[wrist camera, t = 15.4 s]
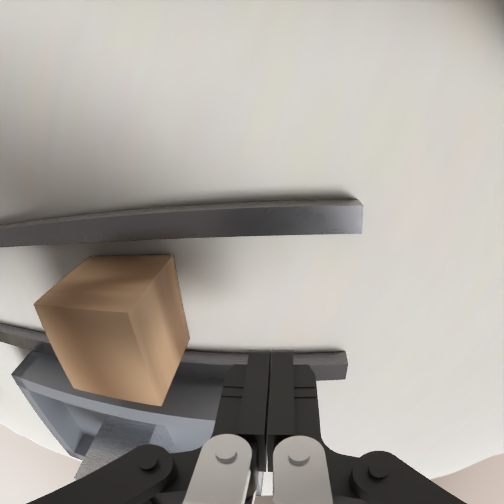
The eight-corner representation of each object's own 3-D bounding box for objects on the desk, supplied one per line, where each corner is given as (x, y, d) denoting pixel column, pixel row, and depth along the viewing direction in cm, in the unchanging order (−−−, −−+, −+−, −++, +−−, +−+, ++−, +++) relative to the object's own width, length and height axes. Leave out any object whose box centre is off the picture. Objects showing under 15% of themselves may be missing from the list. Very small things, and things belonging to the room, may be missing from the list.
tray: (257, 376, 17) (250, 423, 14) (264, 461, 22) (260, 496, 18) (34, 348, 20) (11, 374, 16) (84, 430, 24) (70, 455, 21)
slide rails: (357, 199, 13) (363, 205, 12) (343, 367, 17) (345, 379, 16) (-48, 233, 17) (-56, 237, 16) (-12, 329, 20) (-18, 335, 19)
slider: (173, 254, 15) (127, 312, 10) (189, 338, 17) (161, 406, 12) (81, 256, 15) (25, 302, 11) (105, 331, 17) (65, 386, 13)
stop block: (160, 414, 19) (128, 497, 12) (174, 443, 20) (149, 517, 14) (112, 405, 19) (74, 477, 13) (129, 434, 21) (100, 501, 14)
